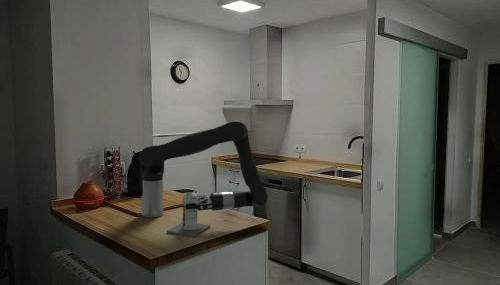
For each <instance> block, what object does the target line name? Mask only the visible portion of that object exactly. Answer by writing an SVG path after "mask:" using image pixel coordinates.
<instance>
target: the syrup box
mask: <svg viewBox="0 0 500 285" xmlns="http://www.w3.org/2000/svg"><path fill="white" fill-rule="evenodd" d="M197 196H198V192H184V193H183V196H182V222H183V230H196V229H197V223H198V209H197V210H196V209H188V210H187V209H186V204H190V203H197Z"/></svg>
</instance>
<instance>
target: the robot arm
mask: <svg viewBox="0 0 500 285" xmlns="http://www.w3.org/2000/svg"><path fill="white" fill-rule="evenodd" d="M227 142H228V143H229V142H233V144H234V146H235V149H236V151H237V155H238V158H239V159H238V161H239V166H240V171H241V175H242V177H243V181H244V183H245V185H246V187H248V189H249V190H248V191H221V192H220V191H219V192H211V193H209V197H207V196H206V195H197V203H190V204H186V209H187V210H188V209H196V210H197V212H198V211H199V212H200V211H207V210H208V211H209V210H211V211H212V212H213V211H225V210H229V209H239V208H244V207H260V206H261V207H262V206H264V205H266V203H267V202H268V192H267V190H266V188H265V186H264V184H263V182H262V180H261V178H260V175H259V171H258V168H257V165H256V162H255V159H254V156H253V153H252V149H251V144H250V138H249V132H248V127H247V125H246V124H245V123H243V122H242V121H240V120H232V121H229V122H226V123H225V124H222V125H220V126H217V127H214V128H210V129H206V130H200V131H196V132H192V133H190V134H186V135H183V136H181V137H178V138H176V139H174V140H171V141H168V142H167V143H162V144H159V145H156V144H155V145H154V144H152V145H149V146H146V147H144V148H143V149H142V150H141V151H140V152H139V154H138V159H139V162H140V164H142V165H143V166H144V167H145V168H144V171H143V174H142V195H141V197H140V198H141V200H140V201H141V216H143V217H146V218H159V217H161V216H163V215H164V186H163V185H164V174H165V161H167V160H171V159H175V158H176V159H177V158H182V157H187V156H191V155H195V154H198V153H202V152H203V151H207V150H208V149H211V148H212V147H214V146H216V145H219V144H223V143H227Z"/></svg>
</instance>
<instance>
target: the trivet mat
mask: <svg viewBox="0 0 500 285" xmlns="http://www.w3.org/2000/svg"><path fill="white" fill-rule="evenodd" d="M210 228H211V225H209V224H205V223H203V224H202V223H198V222H197V229H196V230H183V221H182V222H180V223H179V224H177V225H174V226H173V227H171V228H169V229H168V230H166V234H170V235H175V236H180V237H186V238H191V237H192V238H191V239H195V238H196V237H198V236H199V235H201V234H203V233H204V232H206V231H207V230H209V229H210ZM202 232H203V233H202Z"/></svg>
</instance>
